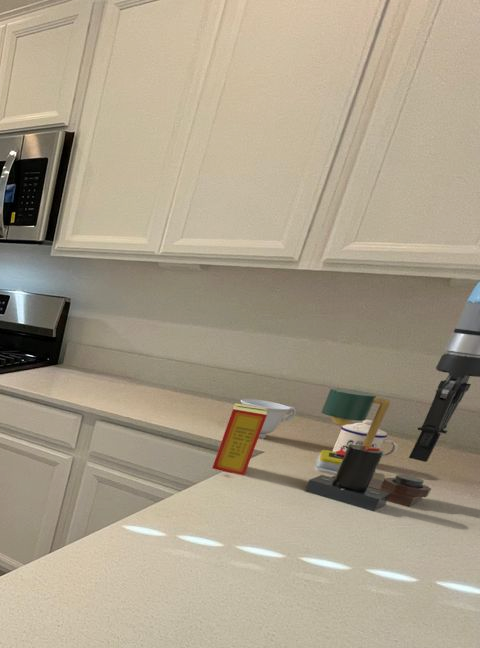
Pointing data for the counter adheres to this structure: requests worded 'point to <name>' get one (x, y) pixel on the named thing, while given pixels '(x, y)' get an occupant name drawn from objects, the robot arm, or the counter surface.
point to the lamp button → (409, 481)
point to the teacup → (271, 414)
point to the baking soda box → (240, 438)
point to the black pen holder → (357, 467)
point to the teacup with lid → (361, 437)
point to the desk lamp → (354, 409)
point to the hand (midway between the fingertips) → (418, 459)
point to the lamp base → (399, 491)
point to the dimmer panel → (347, 493)
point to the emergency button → (329, 461)
